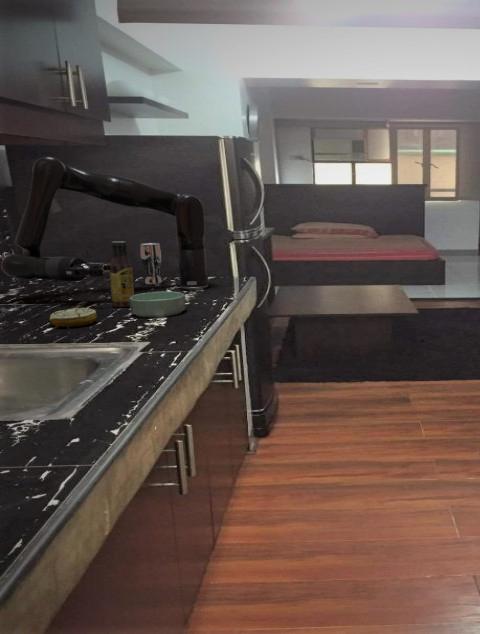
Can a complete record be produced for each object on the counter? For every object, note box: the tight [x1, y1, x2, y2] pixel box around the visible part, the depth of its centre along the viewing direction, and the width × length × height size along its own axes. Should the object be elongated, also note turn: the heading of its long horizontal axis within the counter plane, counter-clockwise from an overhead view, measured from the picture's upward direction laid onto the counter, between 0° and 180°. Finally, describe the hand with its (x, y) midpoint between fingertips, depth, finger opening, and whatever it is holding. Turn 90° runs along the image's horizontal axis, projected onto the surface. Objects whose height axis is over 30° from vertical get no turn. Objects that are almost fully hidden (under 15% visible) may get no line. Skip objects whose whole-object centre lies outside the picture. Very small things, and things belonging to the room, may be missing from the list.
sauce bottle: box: [109, 240, 135, 308], centre depth 183 cm, size 7×6×20 cm
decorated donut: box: [49, 307, 98, 328], centre depth 161 cm, size 10×11×4 cm
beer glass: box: [139, 242, 163, 286], centre depth 224 cm, size 7×7×15 cm
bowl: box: [129, 291, 187, 318], centre depth 176 cm, size 15×15×5 cm
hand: (112, 270), depth 183 cm, fingers open, 8 cm apart
